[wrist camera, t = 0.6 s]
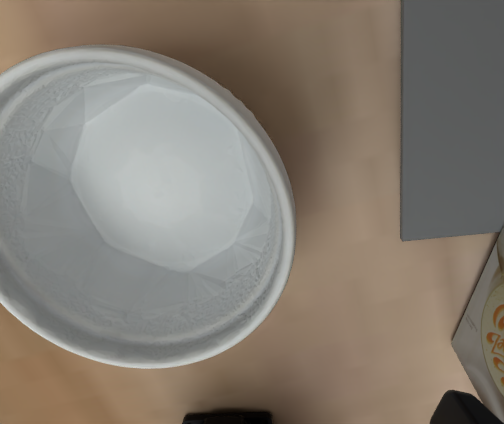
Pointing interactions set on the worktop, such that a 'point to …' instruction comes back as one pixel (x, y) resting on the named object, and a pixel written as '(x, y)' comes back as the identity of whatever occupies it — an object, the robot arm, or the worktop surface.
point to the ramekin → (137, 207)
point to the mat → (451, 118)
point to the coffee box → (485, 334)
